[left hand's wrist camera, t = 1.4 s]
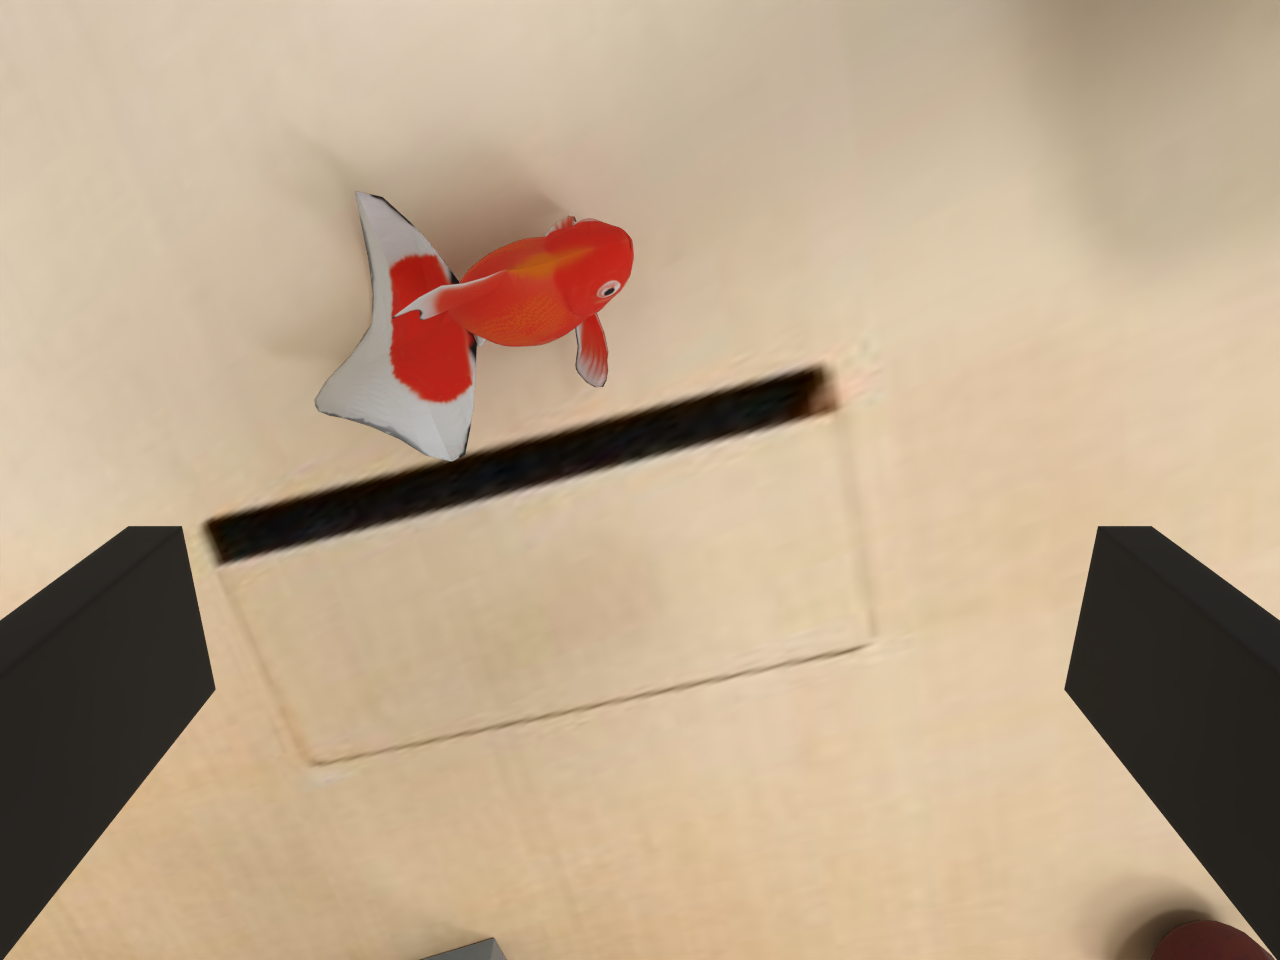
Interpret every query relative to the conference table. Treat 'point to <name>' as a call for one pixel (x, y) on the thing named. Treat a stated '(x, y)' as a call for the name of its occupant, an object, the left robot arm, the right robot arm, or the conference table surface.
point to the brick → (473, 952)
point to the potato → (1208, 943)
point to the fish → (467, 321)
